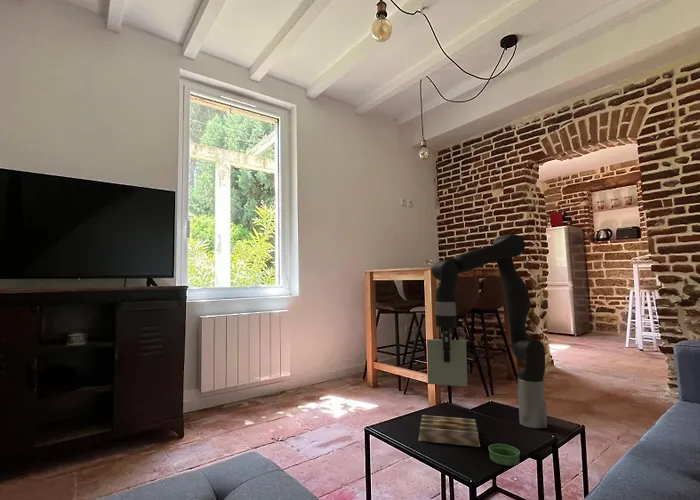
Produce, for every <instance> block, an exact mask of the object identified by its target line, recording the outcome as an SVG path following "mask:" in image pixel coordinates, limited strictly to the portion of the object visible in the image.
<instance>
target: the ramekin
mask: <svg viewBox="0 0 700 500" xmlns="http://www.w3.org/2000/svg"><path fill="white" fill-rule="evenodd" d="M488 453H489V459H490V460H491V461H492V462H494V463H496V464H498V465H501V466H502V465H503V466H507V467H511V466H517V465H518V464H519V463H520V456H521V451H520V449H518V448H516V447H515V446H513V445H509V444H505V443H493V444H490V445H488Z"/></svg>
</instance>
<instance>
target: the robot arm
mask: <svg viewBox="0 0 700 500" xmlns="http://www.w3.org/2000/svg"><path fill="white" fill-rule="evenodd" d="M525 250H526V243H525V240H524V239H523V237H522V236H520V235H518V234H506V235H500V236H497V237H496V238H495V239H494V240H493V243H492V244H491V245H489V246H484V247H481V248H476V249H473V250H470V251H466V252H464V253H461V254H459V255H457V256H454V257H450V258H445V259H443V260H439V261H437V262H435V263H434V264H433V265H432V267H431V268H432V269H431V274H432V276H433V277H434V278H436V279H438V280H440V283H439V285H438V286H437V287H436V289H435V309H434V312H435V327H437V328H441V329H442V331H440V337H441V340H442V345H443V352H444V362H448V363H449V362H450V345H451V340H452V337H453V336H452V335H453V333H452V331H450V329H451V328H452V329H454V328H456V327H457V306H456V294H455V293H456V292H455V291H456V287H457V282H458V277H459V274H462V273H463V274H464V273H468V272H471V271H472V270H475V269H478V268H480V267H483V266H486V265H488V264H490V263H493V262H496V265H497V269H498V271H499V274H500V275H499V276H500V281H501V285H502V291H503V297H504V298H503V299H504V302H505V305H506V306H505V307H506V312H507V317H508V323H509V332H510V334H509V335H510V342H511V343H510V344H511V350H512V353H513V356H515V358H516V359H518V360H520V361H524V362H525V367H524V368H523V369H518V371H517V392H518V395H517V396H518V413H519V414H518V415H519V416H518V420H519V425H522V426H523V427H527V428H532V429H543V428H544V429H548V417H547V415H548V414H547V403H546V400H545V387H544V375H545V373H546V350H545V348H546V347H545V346H544V344H543V342H542V341H541V340H539V339H537V338H533V337H528V333H527V330H526V321H527V319H528V317H529V313H530V310H531V305H532V304H531V297H530V293H529V290H528V287H527V286H528V285H527V284H526V283H525V281H524V280H523V279H522V277H521V276H520V275H519V272H518V271H517V269H516V267H515V263H514V258H516V257H519V256H521V255H522V254H523V253H524V251H525ZM444 346H449V347H445V348H444Z"/></svg>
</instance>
